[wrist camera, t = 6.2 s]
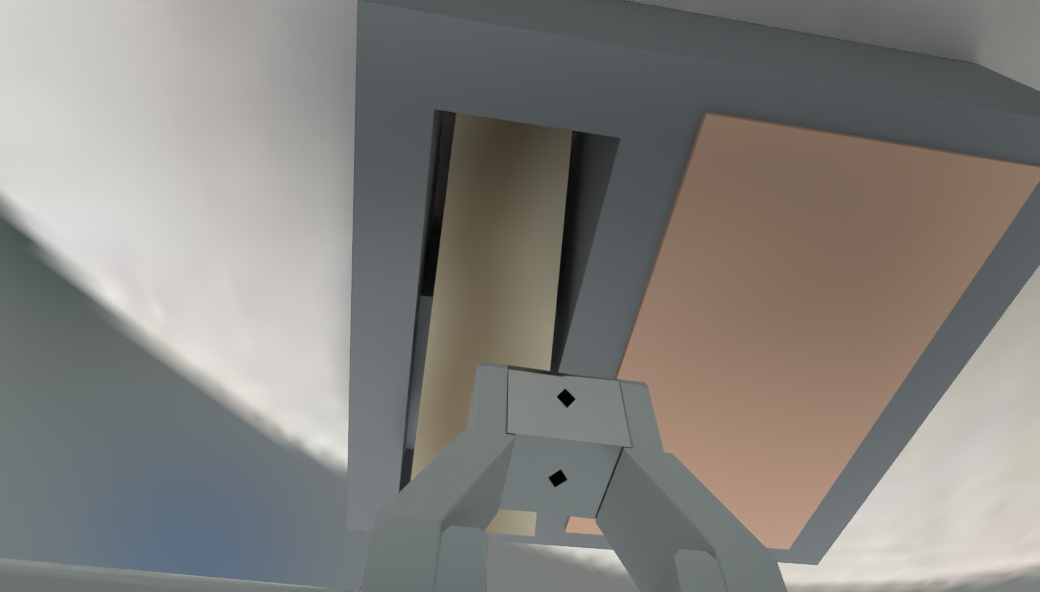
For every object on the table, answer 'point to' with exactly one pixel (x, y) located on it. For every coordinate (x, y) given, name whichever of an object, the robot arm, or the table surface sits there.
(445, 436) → the maple bar
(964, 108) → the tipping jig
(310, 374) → the table surface
